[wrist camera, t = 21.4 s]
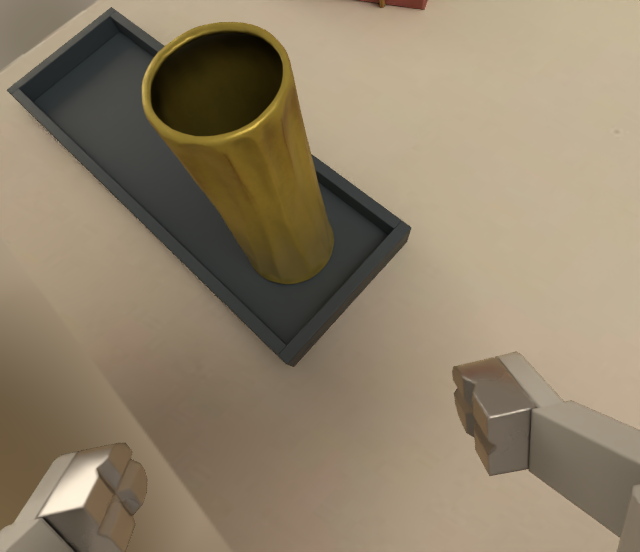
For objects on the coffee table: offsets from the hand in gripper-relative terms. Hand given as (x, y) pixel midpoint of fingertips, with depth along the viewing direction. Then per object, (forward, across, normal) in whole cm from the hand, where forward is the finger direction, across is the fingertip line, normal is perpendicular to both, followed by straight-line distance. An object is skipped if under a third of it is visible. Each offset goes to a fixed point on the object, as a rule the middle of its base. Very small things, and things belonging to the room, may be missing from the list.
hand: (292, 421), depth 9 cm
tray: (+24, +7, -4) cm, 26 cm away
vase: (+18, +1, +2) cm, 18 cm away
